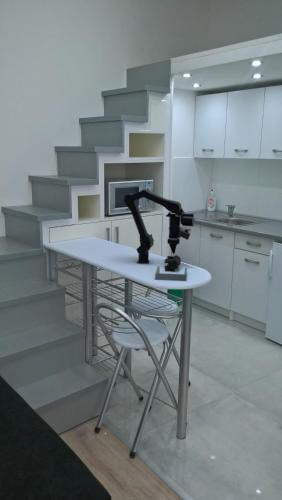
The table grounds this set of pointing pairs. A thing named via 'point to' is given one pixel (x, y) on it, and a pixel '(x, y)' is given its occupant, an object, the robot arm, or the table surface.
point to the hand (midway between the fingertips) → (173, 253)
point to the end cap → (172, 263)
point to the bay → (170, 275)
